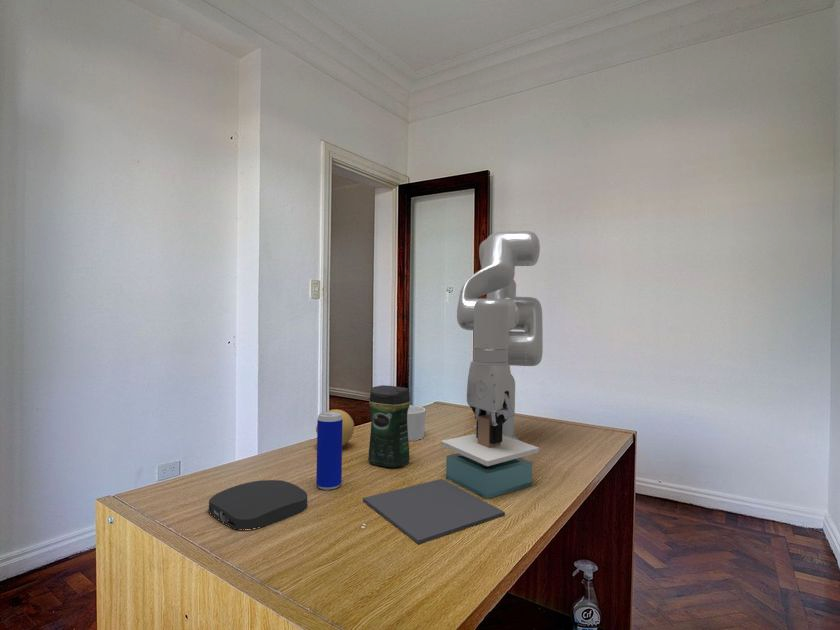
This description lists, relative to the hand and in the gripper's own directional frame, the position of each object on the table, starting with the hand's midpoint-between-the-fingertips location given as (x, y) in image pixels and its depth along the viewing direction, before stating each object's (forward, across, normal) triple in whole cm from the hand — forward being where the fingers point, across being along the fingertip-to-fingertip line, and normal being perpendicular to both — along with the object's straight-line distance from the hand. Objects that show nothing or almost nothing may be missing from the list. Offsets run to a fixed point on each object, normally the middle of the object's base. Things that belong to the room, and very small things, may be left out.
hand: (489, 439), depth 98 cm
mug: (+10, -39, +4) cm, 41 cm away
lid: (+2, 0, 0) cm, 2 cm away
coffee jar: (+9, -21, -13) cm, 27 cm away
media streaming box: (+9, -12, -46) cm, 48 cm away
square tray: (+9, +1, -1) cm, 9 cm away
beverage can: (+9, -15, -31) cm, 35 cm away
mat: (+9, +5, -19) cm, 21 cm away
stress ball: (+10, -39, -19) cm, 45 cm away
